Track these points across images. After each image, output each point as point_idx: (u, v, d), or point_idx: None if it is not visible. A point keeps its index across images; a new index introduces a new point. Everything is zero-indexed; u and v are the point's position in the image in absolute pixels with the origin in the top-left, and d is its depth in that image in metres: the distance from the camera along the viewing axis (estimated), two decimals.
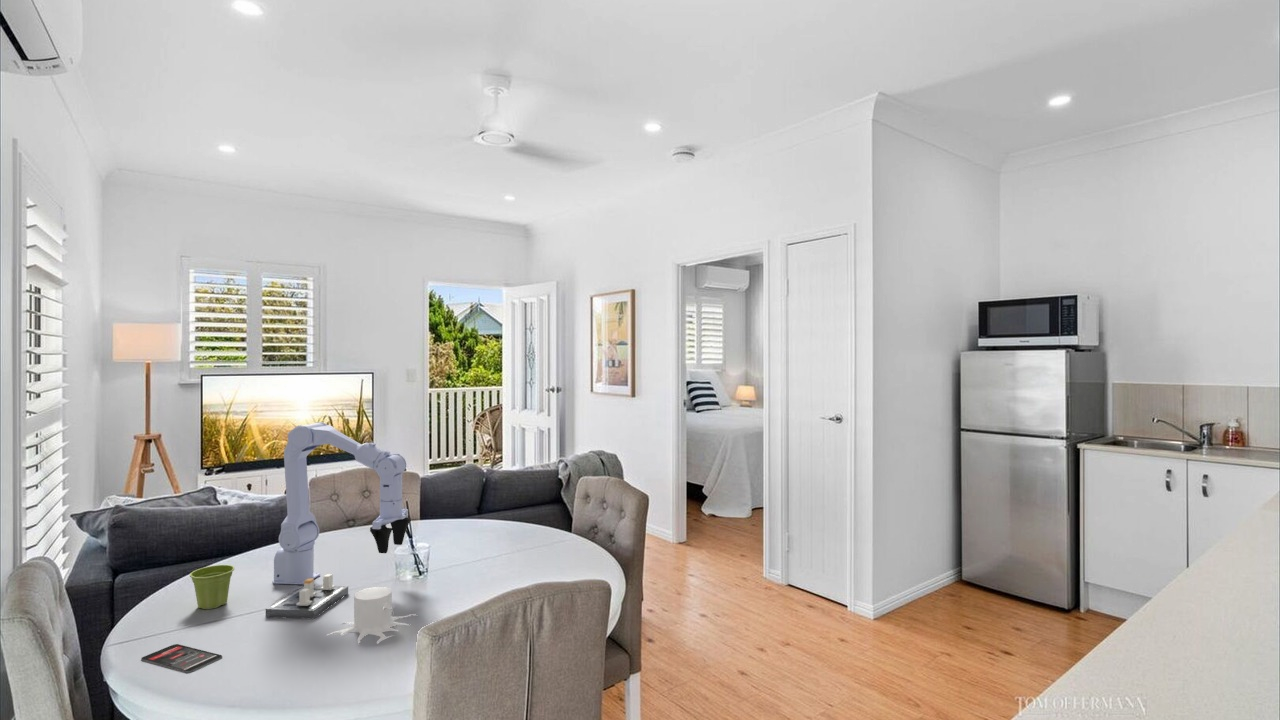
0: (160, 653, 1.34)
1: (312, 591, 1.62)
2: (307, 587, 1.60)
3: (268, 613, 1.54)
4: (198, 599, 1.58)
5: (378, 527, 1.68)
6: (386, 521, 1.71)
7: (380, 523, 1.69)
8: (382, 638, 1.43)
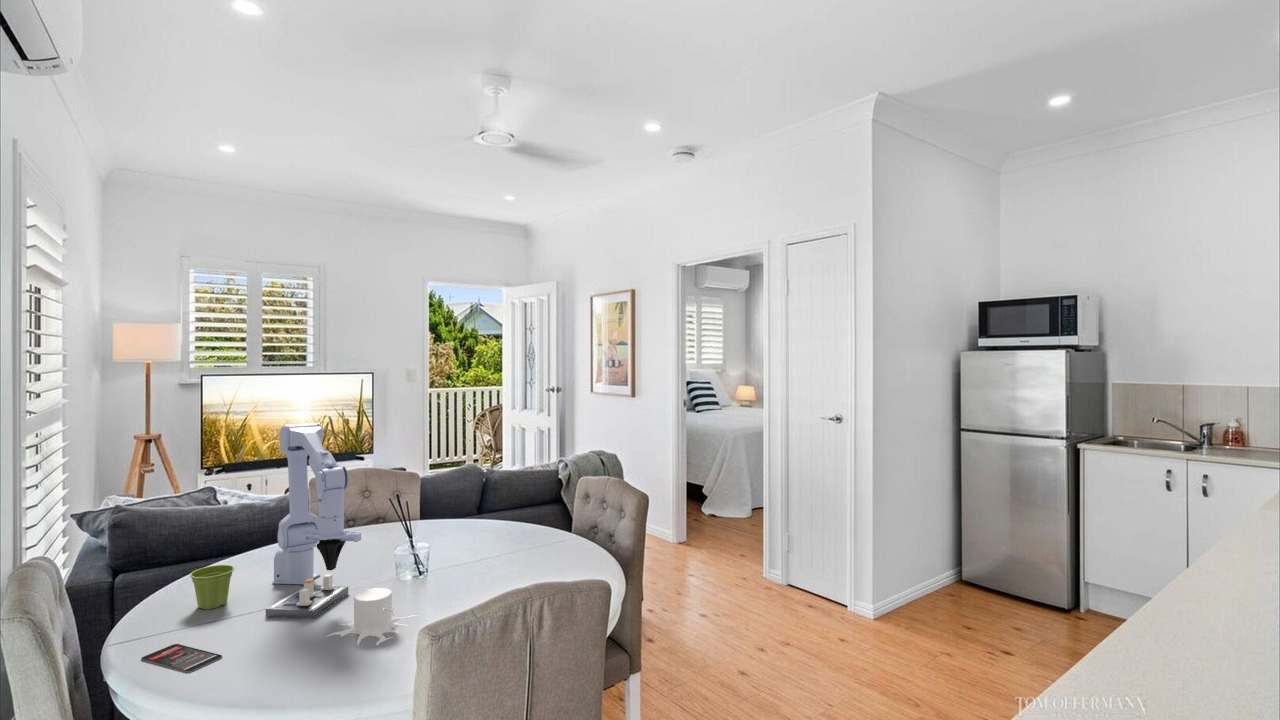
0: (160, 653, 1.34)
1: (312, 591, 1.62)
2: (307, 587, 1.60)
3: (268, 613, 1.54)
4: (198, 599, 1.58)
5: None
6: (309, 535, 1.60)
7: (303, 535, 1.60)
8: (382, 639, 1.42)
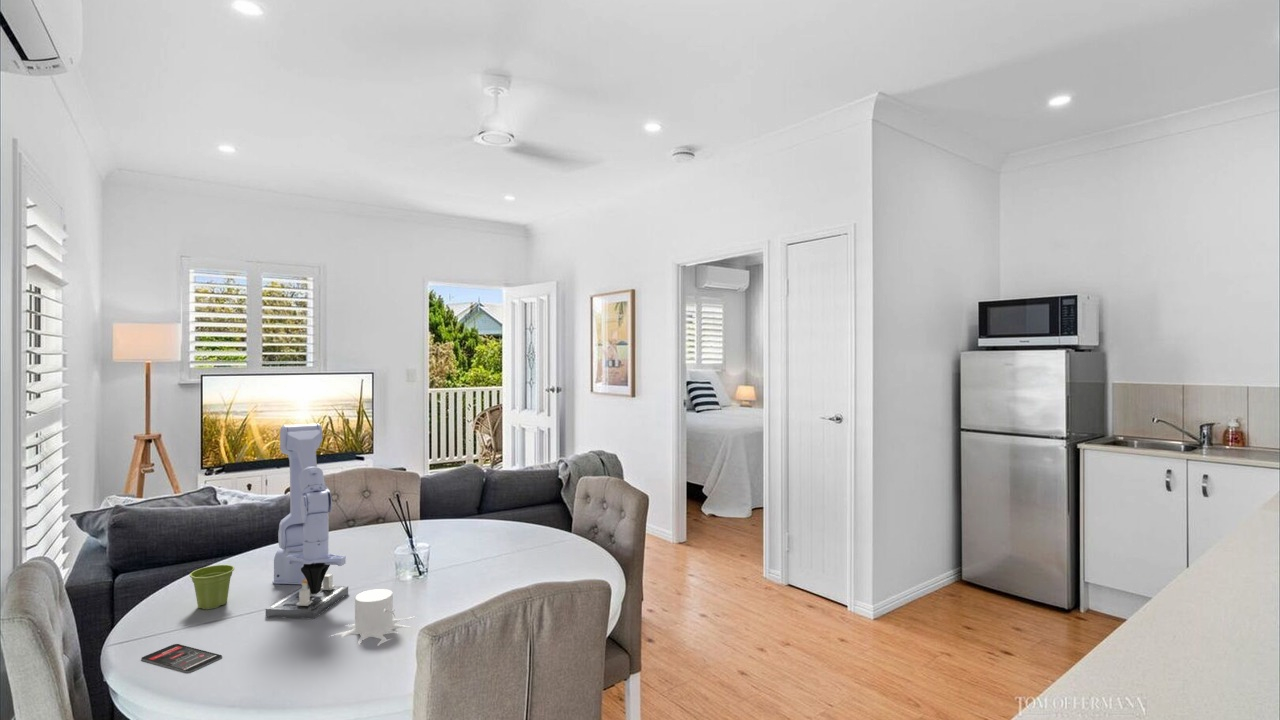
0: (160, 653, 1.34)
1: (310, 591, 1.62)
2: (305, 587, 1.60)
3: (268, 613, 1.54)
4: (198, 599, 1.58)
5: None
6: (294, 559, 1.60)
7: (287, 558, 1.60)
8: (383, 641, 1.41)
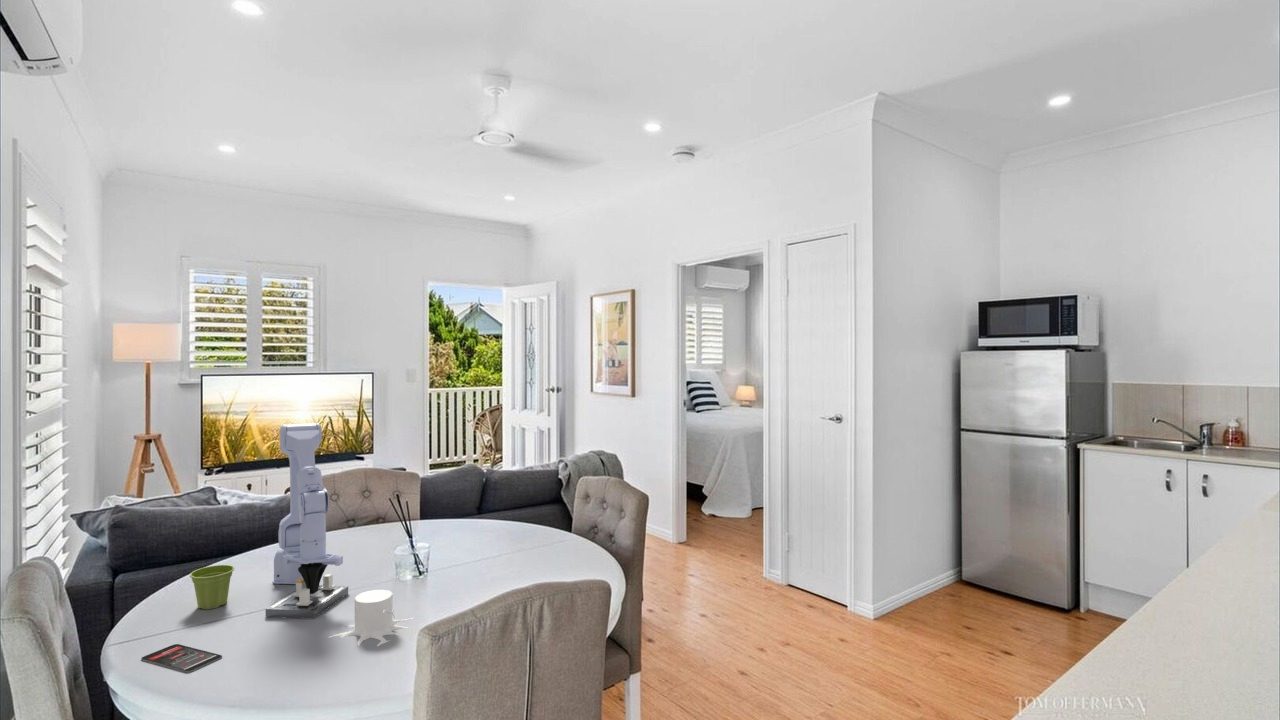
0: (160, 653, 1.34)
1: None
2: (299, 587, 1.60)
3: (268, 613, 1.54)
4: (198, 599, 1.58)
5: None
6: (291, 559, 1.60)
7: (285, 558, 1.60)
8: (382, 642, 1.41)
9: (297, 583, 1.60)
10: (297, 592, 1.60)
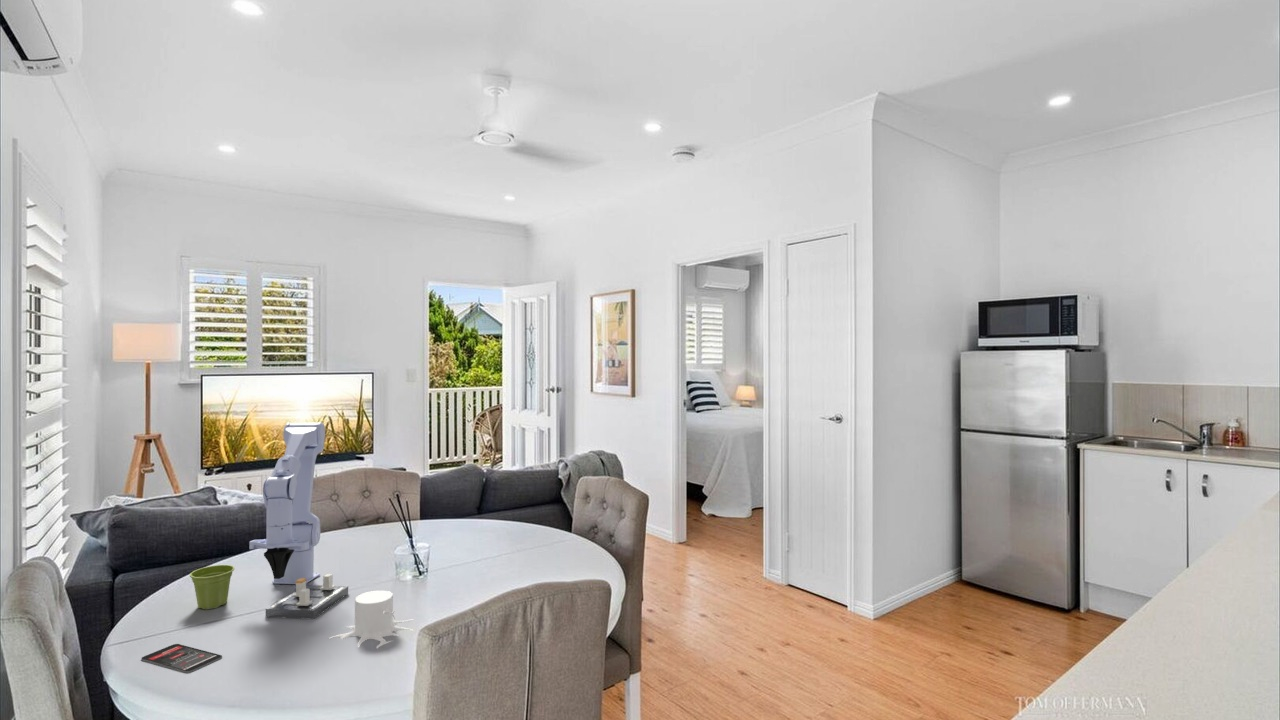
0: (160, 653, 1.34)
1: None
2: (299, 587, 1.60)
3: (268, 613, 1.54)
4: (198, 599, 1.58)
5: None
6: (257, 544, 1.60)
7: (251, 543, 1.61)
8: (382, 643, 1.40)
9: (297, 583, 1.60)
10: (297, 592, 1.60)
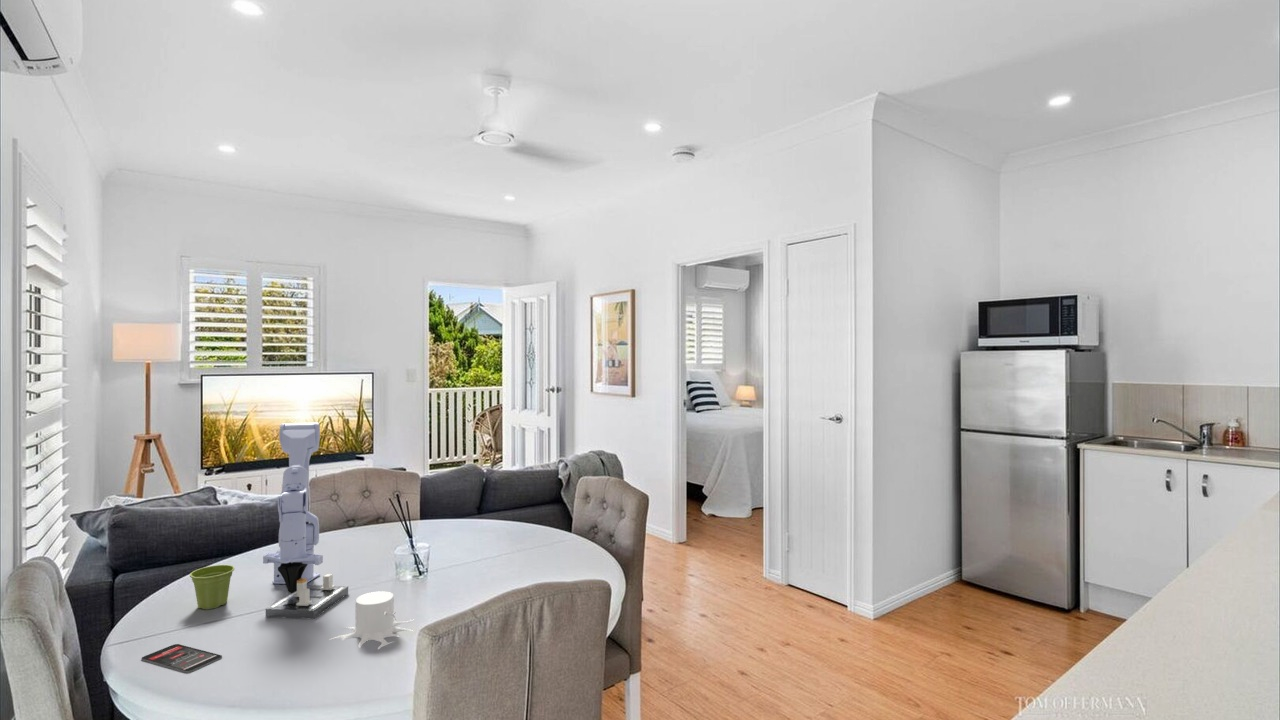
0: (160, 653, 1.34)
1: None
2: (300, 587, 1.60)
3: (268, 613, 1.54)
4: (198, 599, 1.58)
5: None
6: (271, 558, 1.60)
7: (264, 557, 1.61)
8: (383, 644, 1.40)
9: (298, 583, 1.60)
10: (298, 592, 1.60)
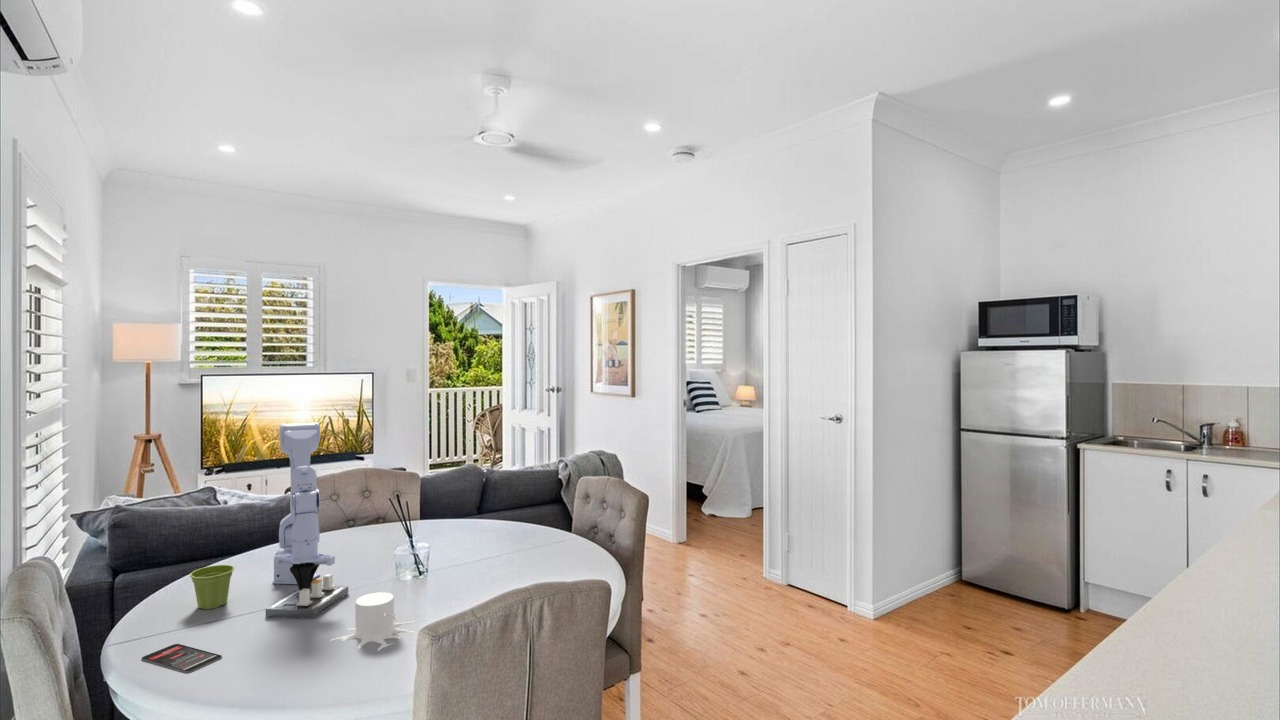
0: (160, 653, 1.34)
1: (320, 591, 1.61)
2: (315, 587, 1.60)
3: (268, 613, 1.54)
4: (198, 599, 1.58)
5: None
6: (283, 559, 1.60)
7: (276, 558, 1.61)
8: (383, 646, 1.39)
9: (313, 584, 1.60)
10: (313, 593, 1.60)
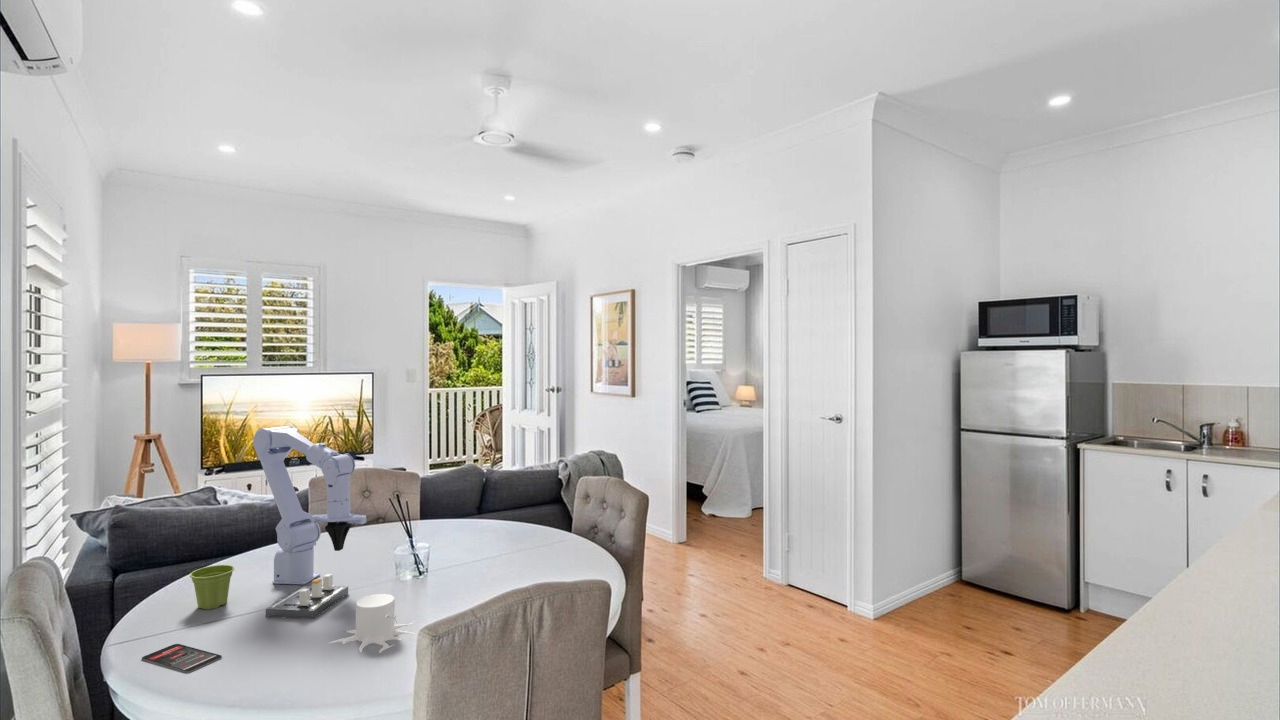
0: (160, 653, 1.34)
1: (320, 591, 1.61)
2: (315, 587, 1.60)
3: (268, 613, 1.54)
4: (198, 599, 1.58)
5: None
6: (318, 518, 1.72)
7: (312, 518, 1.72)
8: (384, 647, 1.38)
9: (313, 584, 1.60)
10: (313, 593, 1.60)
